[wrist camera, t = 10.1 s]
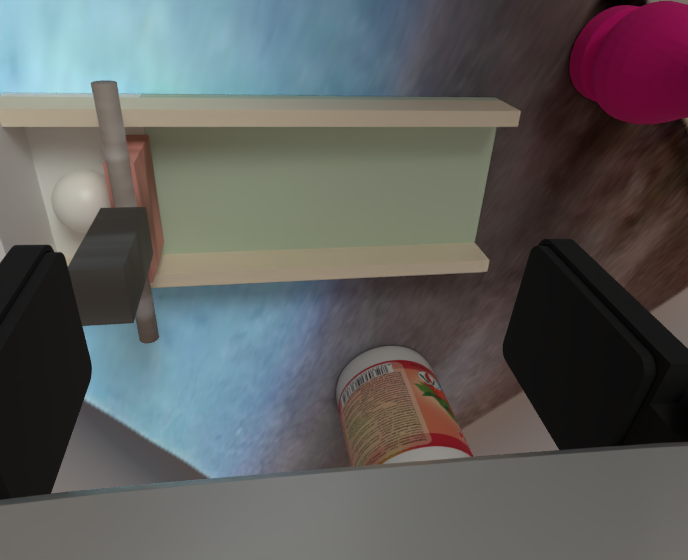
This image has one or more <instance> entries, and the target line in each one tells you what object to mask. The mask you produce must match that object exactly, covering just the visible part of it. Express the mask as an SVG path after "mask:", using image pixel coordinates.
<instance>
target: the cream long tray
mask: <svg viewBox="0 0 688 560" xmlns="http://www.w3.org/2000/svg"><path fill="white" fill-rule="evenodd" d="M119 100H120V106H121V112H122V118H123V124H124V130H125V135H149V141H150V148H151V155H152V162H153V169H154V176H155V183H156V190H157V197H158V203H159V210H160V217H161V224H162V231H163V238H164V244H163V248H162V251H161V255H160V259H159V263H158V266H157V270H156V274H155V278H154V281H153V283H150V285H151V288H161V287H182V286H203V285H224V284H245V283H266V282H287V281H308V280H329V279H350V278H371V277H391V276H412V275H433V274H454V273H475V272H487V270H488V266H489V261H490V260H489V259H488V258H487V257H486V255H485V254H484V253H483V252H482V251H481V249H480V248H479V247H478V246H477V245H476V243H475V238H476V233H477V228H478V222H479V217H480V212H481V207H482V201H483V196H484V191H485V186H486V180H487V175H488V170H489V165H490V159H491V154H492V149H493V144H494V138H495V133H496V128H497V127H518V123H519V118H520V114H521V111H520V110H518V109H516V108H514V107H512V106H510V105H509V104H507V103H505V102H503V101H501V100H499V99H498V98H495V97H392V96H289V95H186V94H119ZM104 161H105V155H104V149H103V144H102V139H101V134H100V128H99V123H98V118H97V113H96V107H95V102H94V97H93V94H83V93H3V94H1V95H0V262H1V261H2V260H3V258H4V257H5V256H6V254H7V253H8V252H9V250H10V249H11V248H12V247H13V246H14V245H50V246H51V247H52V248H53V250H54V252H62V253H63V254H64V256H65V259H66V262H67V266H69V264H70V262H71V260H72V258H73V257H74V255H75V253H76V251H77V249H78V248H79V246H80V244H81V242H82V240H83V239H84V237H85V235H86V233H80V232H77V231H74V230H72V229H69V228H68V227H66V226H65V225H64V224H63V223H62V222H60V220H59V219H58V218H57V216H56V215H55V213H54V211H53V208H52V203H51V196H52V191H53V188H54V186H55V185H56V183H57V182H58V181H59V180H60V179H61V178H62V177H63V176H64V175H66V174H68V173H70V172H73V171H76V170H92V171H96V172H99V173H101V174H103V175H105V173H104V168H103V163H104Z"/></svg>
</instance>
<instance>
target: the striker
mask: <svg viewBox="0 0 688 560" xmlns="http://www.w3.org/2000/svg"><path fill="white" fill-rule="evenodd" d="M91 86H92V92H93V97H94V102H95V107H96V113H97V118H98V123H99V128H100V134H101V139H102V144H103V149H104V155H105V161H104V163H103V168H104V173H105V178H106V183H107V188H108V194H109V199H110V204H111V208H100V210H99V212H98V213H97V215H96V217H95V219H94V221H93V222H92V224H91V226H90V228H89V230H88V231H87V233H86V235H85V237H84V239H83V240H82V242H81V244H80V246H79V248H78V249H77V251H76V253H75V255H74V257H73V258H72V260H71V262H70V264H69V266H68V270H69V274H70V278H71V282H72V286H73V291H74V295H75V299H76V303H77V307H78V311H79V315H80V319H81V323H82V326H90V325H107V324H124V323H134V319H135V317H136V322H137V328H138V333H139V338H140V341H141V342H142V343H152V342H155V341H156V340H158V338H159V333H158V327H157V321H156V315H155V309H154V303H153V297H152V291H151V285H150V283H153V281H154V278H155V274H156V270H157V266H158V263H159V259H160V255H161V251H162V248H163V244H164V238H163V231H162V224H161V217H160V210H159V203H158V197H157V190H156V183H155V176H154V169H153V162H152V155H151V148H150V141H149V135H125V130H124V124H123V118H122V112H121V106H120V100H119V94H118V88H117V82H115V81H95V82H92V83H91Z"/></svg>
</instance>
